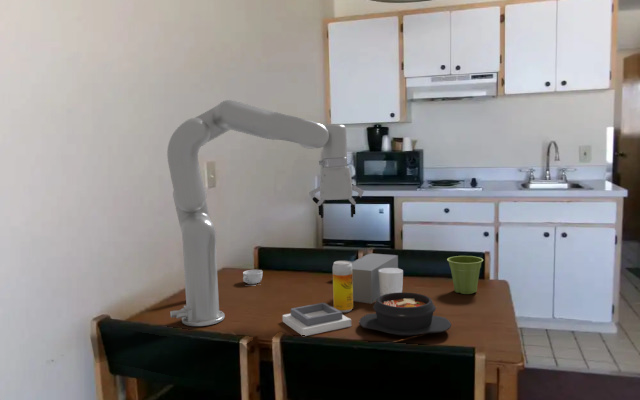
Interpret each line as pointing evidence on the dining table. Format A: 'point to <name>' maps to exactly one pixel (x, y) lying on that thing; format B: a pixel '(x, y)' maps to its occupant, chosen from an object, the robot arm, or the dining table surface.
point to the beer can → (343, 286)
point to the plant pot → (465, 273)
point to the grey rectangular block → (370, 275)
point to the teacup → (252, 276)
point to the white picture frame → (316, 319)
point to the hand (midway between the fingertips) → (337, 217)
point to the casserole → (404, 315)
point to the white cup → (390, 280)
